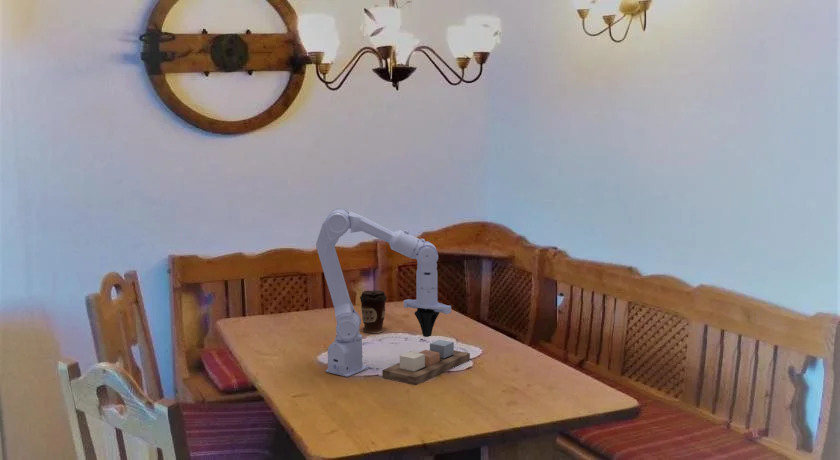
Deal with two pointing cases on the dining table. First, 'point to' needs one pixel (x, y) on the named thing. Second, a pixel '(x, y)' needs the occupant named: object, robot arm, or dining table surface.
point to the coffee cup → (373, 310)
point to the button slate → (442, 348)
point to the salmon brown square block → (431, 357)
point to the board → (425, 369)
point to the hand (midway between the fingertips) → (427, 336)
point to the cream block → (412, 361)
